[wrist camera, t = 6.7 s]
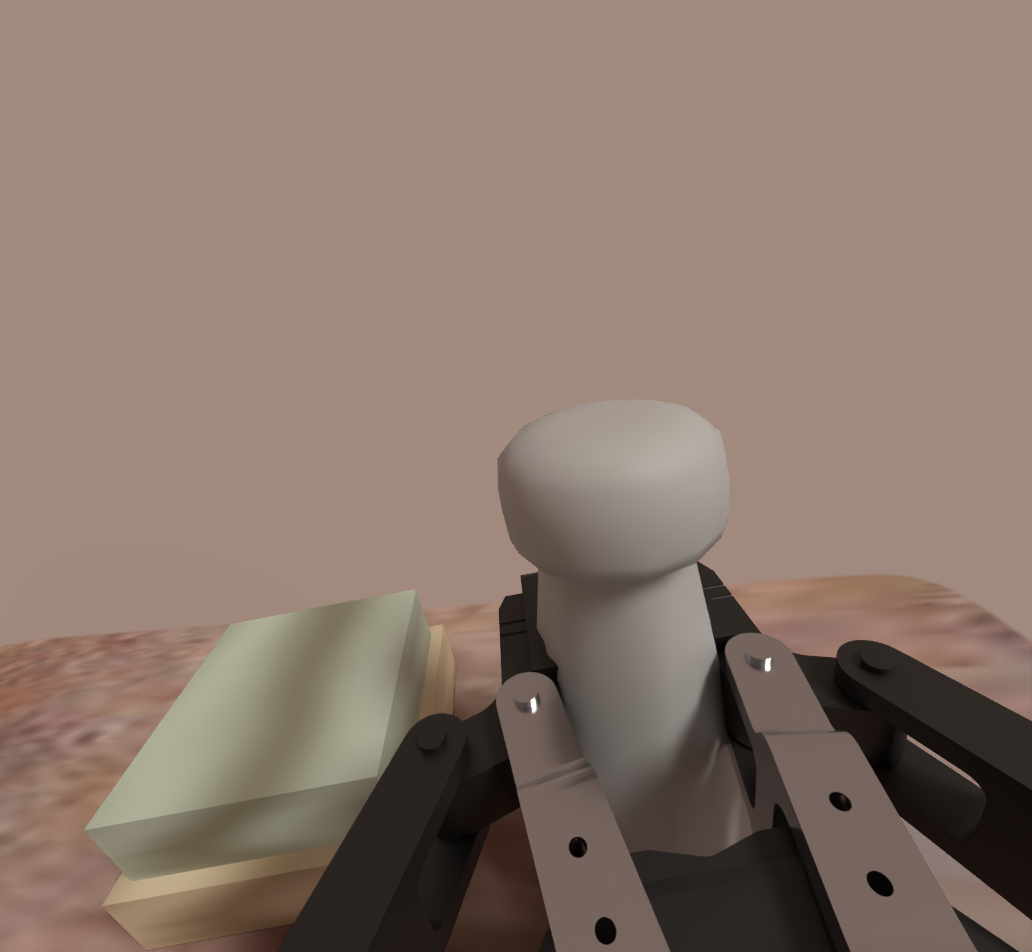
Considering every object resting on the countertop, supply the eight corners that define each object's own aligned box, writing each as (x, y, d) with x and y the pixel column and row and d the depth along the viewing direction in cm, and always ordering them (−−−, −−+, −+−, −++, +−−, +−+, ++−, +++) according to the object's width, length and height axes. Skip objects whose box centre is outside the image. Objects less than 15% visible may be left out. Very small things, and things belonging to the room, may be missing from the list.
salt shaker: (535, 765, 16) (451, 406, 11) (695, 730, 17) (685, 361, 11) (570, 1001, 11) (440, 525, 6) (805, 947, 11) (879, 436, 6)
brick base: (146, 949, 14) (49, 854, 12) (269, 700, 22) (224, 618, 20) (440, 897, 14) (392, 792, 12) (456, 665, 22) (429, 579, 20)
